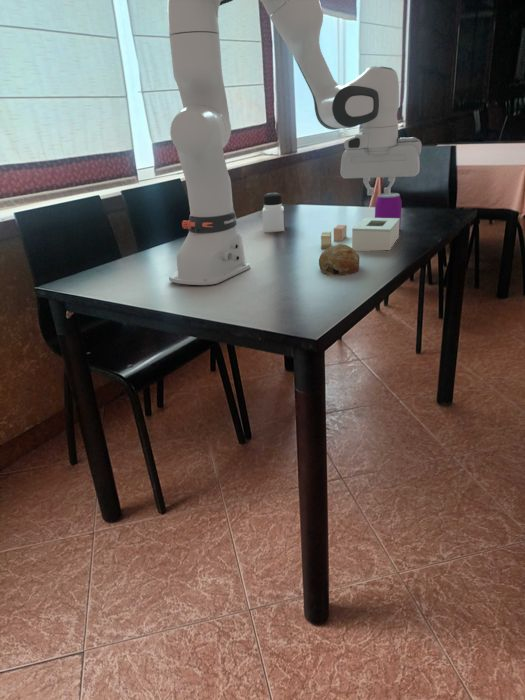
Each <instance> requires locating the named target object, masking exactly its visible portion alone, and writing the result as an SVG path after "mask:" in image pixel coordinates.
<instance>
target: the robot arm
mask: <svg viewBox="0 0 525 700" xmlns="http://www.w3.org/2000/svg"><path fill="white" fill-rule="evenodd" d="M233 1H234V0H167V23H168V36H169V45H170V53H171V54H170V55H171V62H172V70H173V72H172V74H173V78H174V81H175V83H176V85H177V88H178V92H179V97H180V98H181V103H182V107H183V108H182V109H181V110H180V111H179V112H177V114H176V115H175V116H174V118H173V120H172V121H171V124H170V130H169V131H170V132H169V134H170V138H171V141H172V143H173V145H174V148H175V149H176V152H177V155H178V156H177V157H178V159H179V164H180V166H181V169H182V173H183V176H184V179H185V185H186V190H187V197H188V198H187V200H188V205H189V212H190V214H189V217H188V220H186V219H185V220H182V222H181V226H182V227H181V228H183V230H184V229H185V230H188V233H187V236H186V237H185V240H184V241H183V244H182V245H181V247H180V249H179V251H178V253H177V255H176V270H175V271H174V272H173V273H172V274H171V275H169V277H168V280H169V281H170V282H172V283H176V284H179V285H181V284H182V285H192V286H193V285H194V286H195V285H196V286H207V285H215V284H216V285H217V284H219V283H221V282H223V281H226V280H228V279H229V278H232V277H234V276H236V275H239V274H240V273H243V272H245V271H247V270H249V269H251V265H250V263H249V262H247V261H246V256H245V250H244V243H243V238H242V235H241V234H240V233H239V231H238V229H237V227H236V226H237V215H236V211H235V210H234V203H233V191H232V190H233V189H232V181H231V177H230V175H229V170H228V167H227V163H226V159H225V154H224V148H225V147H226V146H227V145H228V143H229V141H230V138H231V134H232V124H231V121H230V111H229V106H228V105H229V104H228V100H227V93H226V88H225V84H224V83H225V82H224V78H223V77H224V76H223V69H222V68H223V67H222V53H221V43H220V42H221V40H220V28H219V8H220V6H222V5H224V4H228V3H230V2H233ZM259 1H260V3H262V5H263V7H264V9H265V11H266V13H267V15H268V17H269V18H270V21H271V22H272V24H273V25H274V27H275V29H276V31H277V33H278V34H279V35H280V37H281V38H282V39H283V41H284V43H285V44H286V46H287V48H288V50H289V51H290V53H291V55H292V56H293V59H294V60H295V62H296V64H297V66H298V68H299V70H300V73H301V75H302V76H303V79H304V81H305V83H306V84H307V86H308V89H309V91H310V93H311V96H312V99H313V104H314V112H315V116H316V119H317V121H318V122H319V124H320V125H321V126H322V127H324V128H325V129H328V130H335V131H336V130H339V129H352V128H355V127H357V126H361V125H362V133H361V134H356V135H355V136H353V137H350V138H348V139H346V140H345V141H344V143H343V146H344V149H345V150H344V151H343V152H342V155H341V160H340V172H339V173H340V176H341V177H342V178H343V179H362V183H363V185H364V186H365V188H366V195H367V196H374V194H375V187H372V186H371V184H370V183H369V182H370V181H371V179H372V178H375V179H377V178H388V182H389V184H388V186H387V187H384V188H383V193H384V195H390V193H392V192H391V190H392V189H391V188H392V186H393V185H394V183H395V181H396V178H401V177H402V178H404V177H406V178H407V177H408V178H409V177H411V178H412V177H416V176H417V175H418V174H419V173H420V168H421V166H420V165H421V164H420V163H421V162H420V155H421V152H422V146H423V144H422V141H421V140H420V139H419V138H417V137H415V136H412V137H399V121H398V110H399V107H400V83H399V82H400V81H399V77H398V73H397V70H395V69H393V68H392V67H387V66H382V65H381V66H378V65H377V66H375V65H374V66H369V67H367V68H366V69H365V70H364V71H363V72H362V73H361V74H359V75H358V76H357V77H355V78H354V79H353V80H351V81H348V82H347V83H345V84H343V85H340V84H339V83H338V82H337V81H336V80H335V78H334V77H333V75H332V72H331V71H330V68H329V66H328V64H327V62H326V60H325V57H324V55H323V52H322V50H321V46H320V45H321V44H320V35H321V30H322V26H323V21H324V11H323V8H322V5H321V1H320V0H259Z"/></svg>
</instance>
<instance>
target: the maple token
mask: <svg viewBox="0 0 525 700" xmlns="http://www.w3.org/2000/svg"><path fill="white" fill-rule="evenodd" d="M320 241H321V242H320V248H321V250H326V249H329V248H331V247H332V231H322V232H321V235H320Z"/></svg>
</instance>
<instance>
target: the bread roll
mask: <svg viewBox="0 0 525 700" xmlns="http://www.w3.org/2000/svg"><path fill="white" fill-rule="evenodd" d="M318 266H319V270H320V271H321V273H322V274H325V275H327V276H329V275H333V276H347V275H346V274H349V275H352V273H353V274H355V272H356V273H357V272H359V270H360V255H359V252H358V251H355V250H354V249H353V248H352V246H349V245H346V244H342V243H338V244H336V245H333V246H331V247H330V248H329V249H323V251H322V252H321V254H320V255H319V259H318Z"/></svg>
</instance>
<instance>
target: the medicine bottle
mask: <svg viewBox="0 0 525 700" xmlns="http://www.w3.org/2000/svg"><path fill="white" fill-rule="evenodd" d="M262 198H263V208H262V212H261V213H262V225H263V226H262V227H263V233H265V234H266V233H275V232H285V230H286V227H285V226H286V225H285V209H284V208H285V207H284V206H283V199H282V198H283V197H282V194H281V193H279V192H269V193H266V194H264V195H263V197H262Z"/></svg>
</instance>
